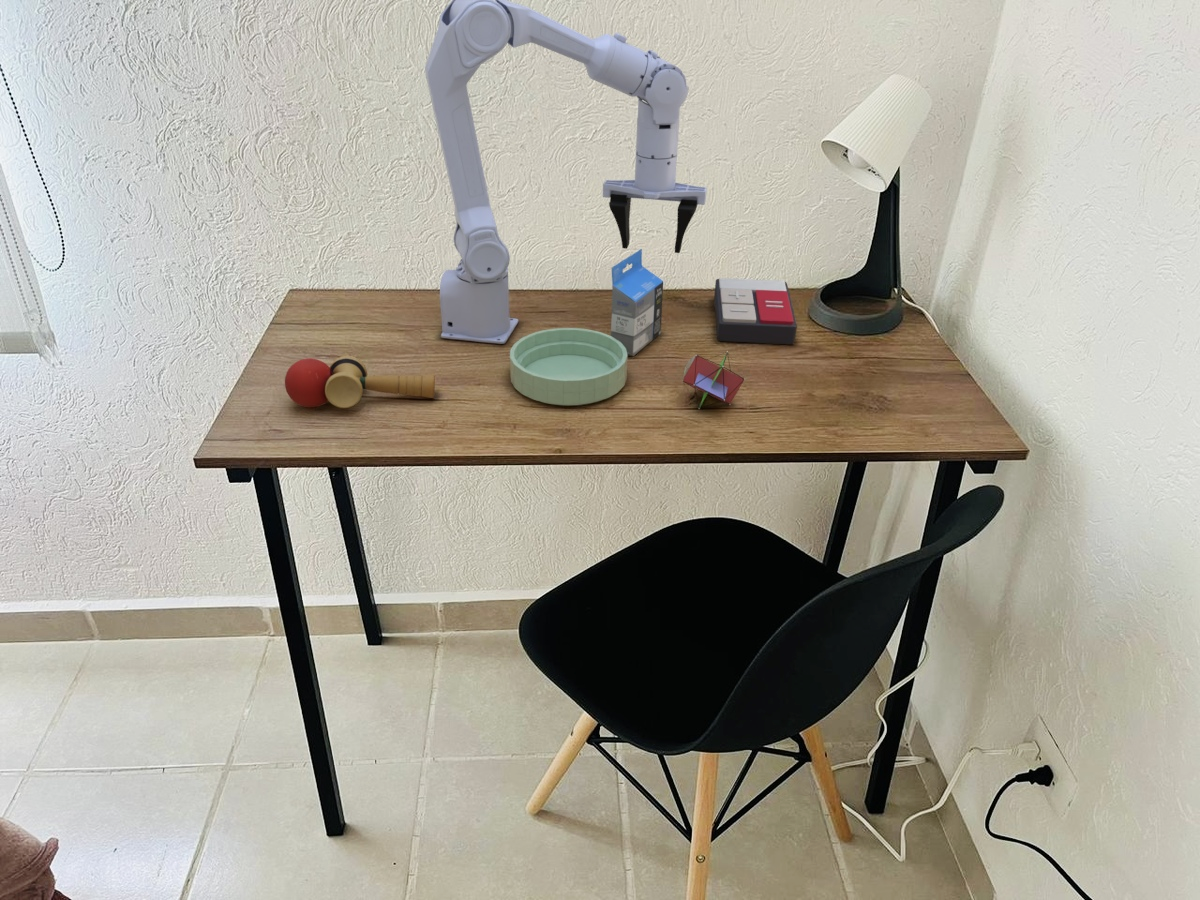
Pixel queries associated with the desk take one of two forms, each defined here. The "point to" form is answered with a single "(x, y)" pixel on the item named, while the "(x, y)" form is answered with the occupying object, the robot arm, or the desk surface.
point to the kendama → (347, 382)
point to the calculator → (754, 311)
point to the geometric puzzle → (712, 379)
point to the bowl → (568, 366)
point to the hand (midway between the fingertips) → (651, 248)
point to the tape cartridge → (635, 304)
